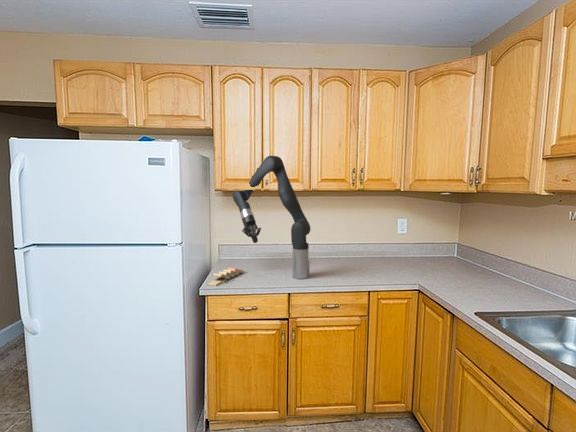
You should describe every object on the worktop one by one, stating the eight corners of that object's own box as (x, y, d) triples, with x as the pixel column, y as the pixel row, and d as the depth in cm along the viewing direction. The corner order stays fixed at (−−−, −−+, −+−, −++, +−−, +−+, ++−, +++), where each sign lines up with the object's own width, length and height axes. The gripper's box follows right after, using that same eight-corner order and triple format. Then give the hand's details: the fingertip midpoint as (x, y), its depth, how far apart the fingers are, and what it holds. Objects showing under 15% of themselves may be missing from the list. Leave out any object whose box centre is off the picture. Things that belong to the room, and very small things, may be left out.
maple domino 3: (228, 273, 196) (218, 271, 187) (235, 274, 194) (226, 272, 185) (227, 276, 195) (218, 274, 186) (235, 277, 193) (225, 275, 184)
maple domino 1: (223, 275, 191) (213, 273, 182) (230, 276, 189) (221, 274, 180) (222, 278, 191) (213, 276, 182) (230, 279, 189) (220, 277, 180)
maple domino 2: (218, 277, 187) (208, 283, 178) (226, 278, 185) (215, 284, 176) (219, 280, 187) (208, 286, 178) (226, 281, 185) (216, 287, 176)
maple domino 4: (232, 271, 200) (223, 269, 191) (239, 272, 198) (230, 270, 189) (232, 274, 199) (222, 272, 190) (239, 275, 197) (230, 273, 189)
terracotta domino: (236, 269, 204) (227, 267, 195) (243, 270, 202) (235, 268, 193) (236, 272, 204) (227, 270, 195) (243, 273, 202) (234, 271, 193)
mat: (237, 271, 208) (237, 270, 208) (248, 272, 205) (248, 271, 204) (215, 281, 187) (215, 280, 187) (227, 283, 183) (227, 282, 183)
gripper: (241, 214, 198) (249, 239, 191) (259, 214, 206) (268, 238, 199) (235, 220, 203) (243, 246, 196) (254, 220, 211) (262, 244, 204)
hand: (255, 242), depth 198 cm, fingers closed
